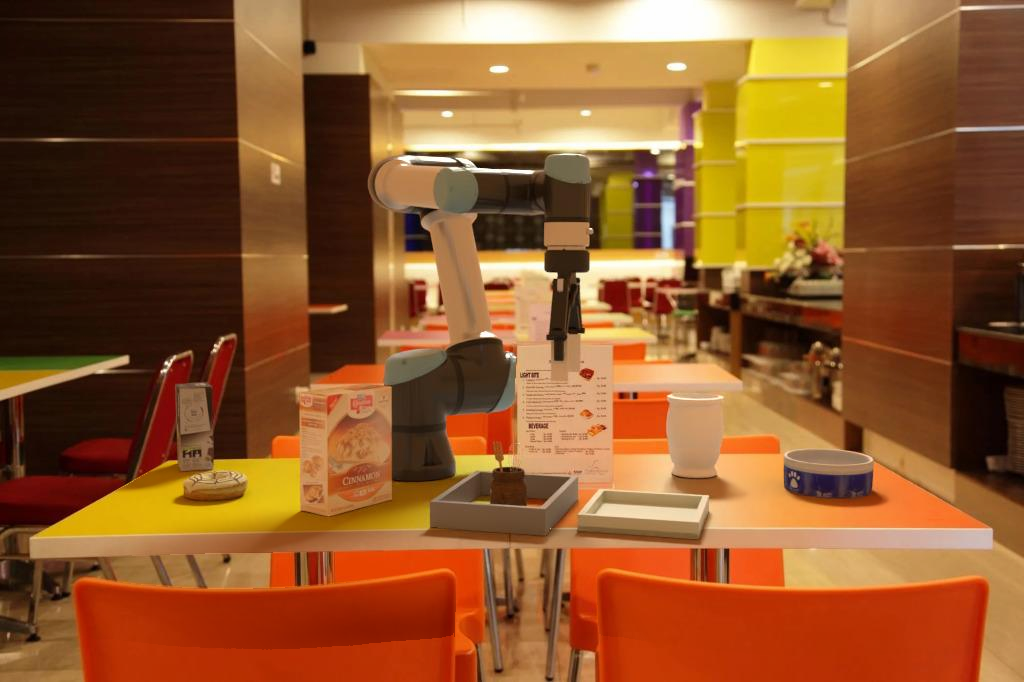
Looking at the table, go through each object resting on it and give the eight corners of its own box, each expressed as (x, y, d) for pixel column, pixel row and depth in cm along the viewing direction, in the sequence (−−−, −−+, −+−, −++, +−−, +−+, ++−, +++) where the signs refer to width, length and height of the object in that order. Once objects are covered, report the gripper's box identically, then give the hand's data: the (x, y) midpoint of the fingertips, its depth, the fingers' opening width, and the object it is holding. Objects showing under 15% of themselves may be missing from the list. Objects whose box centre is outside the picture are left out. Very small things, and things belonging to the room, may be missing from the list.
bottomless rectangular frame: (429, 527, 160) (429, 501, 159) (476, 493, 183) (476, 470, 182) (545, 535, 155) (545, 509, 155) (578, 499, 178) (578, 476, 178)
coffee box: (215, 469, 203) (213, 386, 202) (180, 472, 201) (178, 388, 199) (210, 460, 212) (208, 381, 210) (176, 463, 209) (174, 382, 208)
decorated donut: (184, 491, 185) (183, 470, 185) (246, 487, 188) (246, 466, 188) (183, 504, 175) (182, 482, 175) (249, 500, 178) (248, 478, 178)
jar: (719, 469, 203) (721, 392, 202) (725, 480, 193) (726, 399, 192) (664, 468, 204) (665, 391, 203) (667, 479, 194) (668, 399, 193)
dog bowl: (892, 493, 183) (893, 459, 183) (825, 503, 176) (826, 467, 176) (828, 477, 197) (829, 445, 196) (765, 485, 190) (765, 452, 189)
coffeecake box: (329, 517, 166) (327, 394, 164) (298, 510, 170) (296, 391, 169) (394, 500, 178) (393, 385, 176) (364, 494, 182) (363, 382, 181)
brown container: (534, 511, 170) (534, 438, 169) (512, 519, 165) (512, 443, 164) (504, 506, 173) (504, 434, 172) (481, 514, 168) (481, 440, 167)
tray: (577, 530, 158) (577, 514, 158) (599, 503, 175) (599, 488, 175) (698, 539, 153) (699, 522, 153) (708, 510, 170) (709, 495, 170)
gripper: (578, 248, 161) (577, 385, 163) (599, 249, 186) (598, 368, 187) (530, 248, 163) (530, 384, 165) (557, 249, 187) (556, 367, 189)
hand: (566, 376), depth 176 cm, fingers open, 13 cm apart
